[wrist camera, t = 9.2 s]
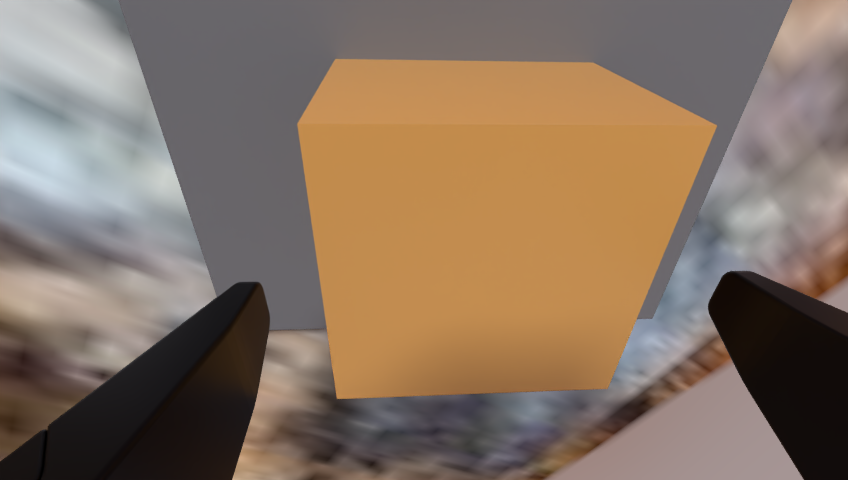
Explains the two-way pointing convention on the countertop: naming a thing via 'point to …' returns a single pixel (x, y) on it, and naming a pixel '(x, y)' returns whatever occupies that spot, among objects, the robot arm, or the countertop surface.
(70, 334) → the countertop surface
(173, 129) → the post board
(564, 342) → the tan wooden cube
